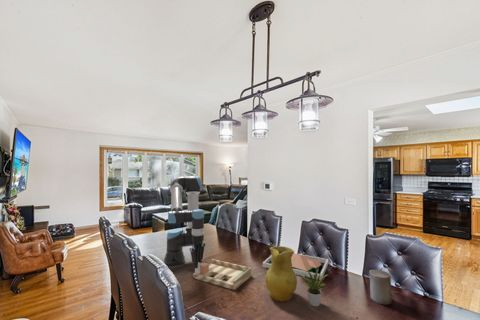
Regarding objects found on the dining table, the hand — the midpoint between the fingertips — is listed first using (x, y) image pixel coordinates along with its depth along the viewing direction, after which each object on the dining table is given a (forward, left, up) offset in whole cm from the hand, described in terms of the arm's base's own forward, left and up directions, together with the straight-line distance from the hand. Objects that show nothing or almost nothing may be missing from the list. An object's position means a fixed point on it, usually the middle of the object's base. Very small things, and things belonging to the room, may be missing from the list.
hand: (197, 272), depth 144 cm
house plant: (+70, +10, -5) cm, 71 cm away
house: (+48, +52, -4) cm, 71 cm away
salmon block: (0, +6, -2) cm, 6 cm away
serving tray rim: (+48, +52, -4) cm, 71 cm away
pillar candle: (+99, +30, -5) cm, 104 cm away
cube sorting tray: (+11, +10, -4) cm, 16 cm away
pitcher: (+52, +9, -5) cm, 53 cm away
